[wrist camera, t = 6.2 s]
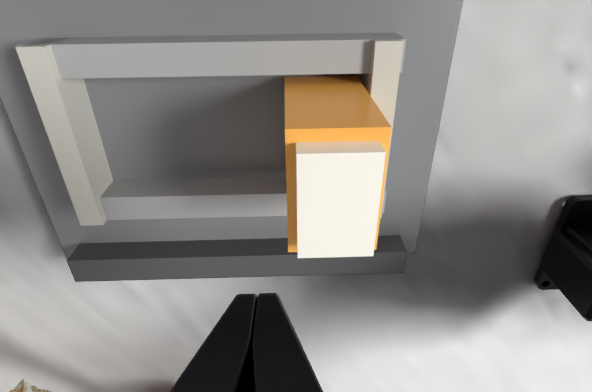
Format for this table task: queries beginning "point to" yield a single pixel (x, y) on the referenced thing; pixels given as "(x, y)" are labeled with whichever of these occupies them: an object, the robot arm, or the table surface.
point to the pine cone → (26, 387)
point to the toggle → (333, 166)
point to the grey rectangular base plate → (222, 260)
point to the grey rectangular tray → (209, 107)
